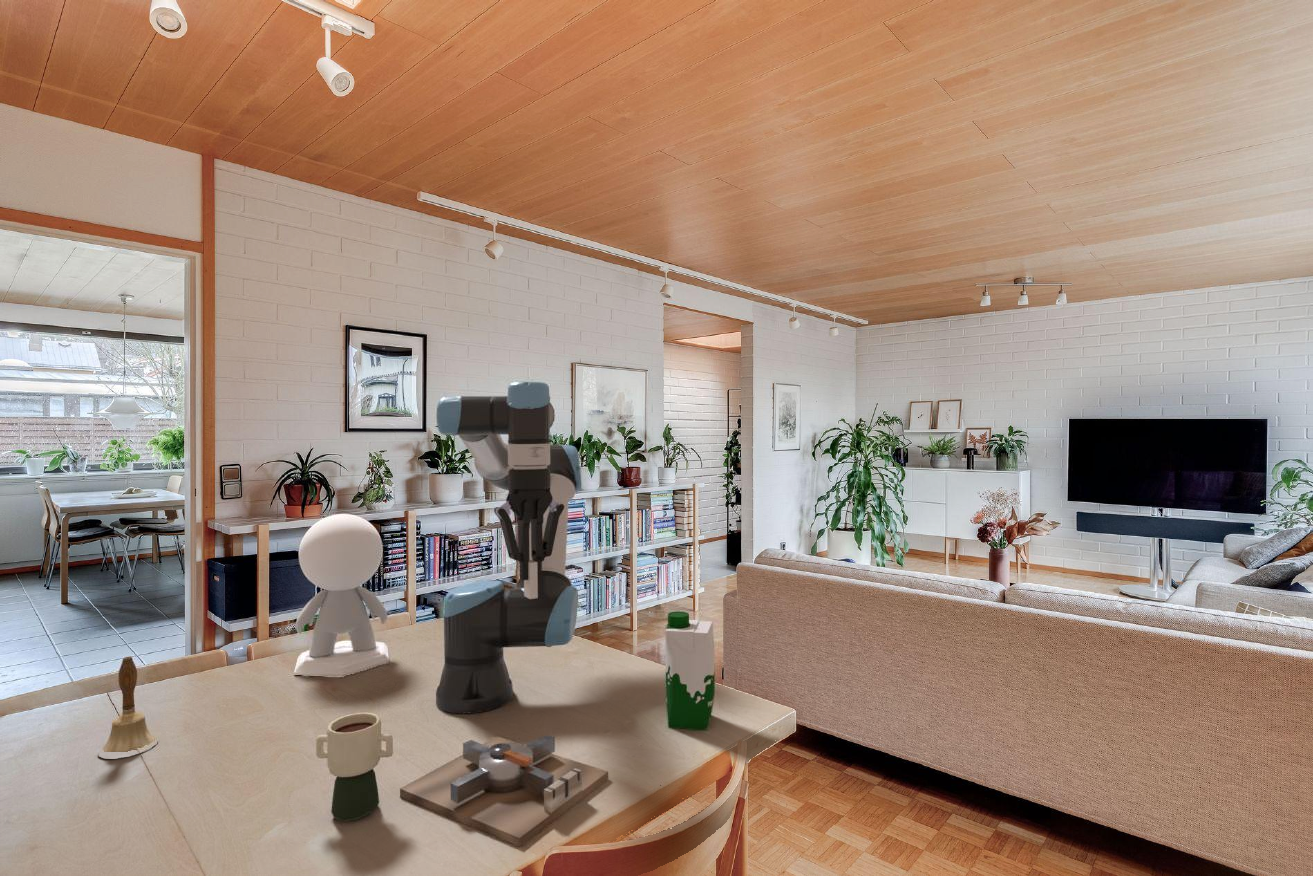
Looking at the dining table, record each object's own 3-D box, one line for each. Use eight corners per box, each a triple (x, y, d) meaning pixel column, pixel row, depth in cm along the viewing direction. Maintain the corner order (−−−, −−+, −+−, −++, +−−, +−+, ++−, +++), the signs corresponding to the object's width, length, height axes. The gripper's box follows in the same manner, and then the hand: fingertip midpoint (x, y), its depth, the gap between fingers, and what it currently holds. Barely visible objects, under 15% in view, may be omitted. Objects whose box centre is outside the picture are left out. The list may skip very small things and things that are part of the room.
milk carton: (671, 709, 132) (670, 607, 132) (717, 713, 130) (716, 609, 130) (662, 729, 123) (661, 620, 123) (711, 733, 122) (711, 622, 121)
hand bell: (169, 741, 120) (168, 652, 120) (119, 763, 112) (117, 668, 112) (137, 735, 123) (135, 647, 123) (86, 756, 115) (84, 662, 115)
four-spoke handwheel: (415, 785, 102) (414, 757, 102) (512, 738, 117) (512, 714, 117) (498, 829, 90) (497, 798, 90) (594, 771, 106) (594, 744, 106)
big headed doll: (386, 642, 176) (384, 507, 175) (390, 671, 155) (388, 518, 154) (299, 653, 168) (297, 512, 167) (291, 685, 147) (288, 523, 146)
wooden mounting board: (400, 796, 101) (399, 768, 101) (496, 743, 119) (496, 719, 118) (519, 847, 89) (519, 815, 89) (608, 779, 106) (608, 752, 106)
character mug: (402, 798, 101) (401, 711, 101) (384, 826, 94) (382, 733, 94) (329, 799, 101) (327, 712, 101) (305, 827, 94) (303, 734, 94)
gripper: (502, 469, 116) (504, 607, 116) (571, 466, 123) (572, 596, 124) (487, 467, 122) (489, 598, 123) (553, 465, 130) (554, 588, 130)
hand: (530, 596), depth 123 cm, fingers closed
